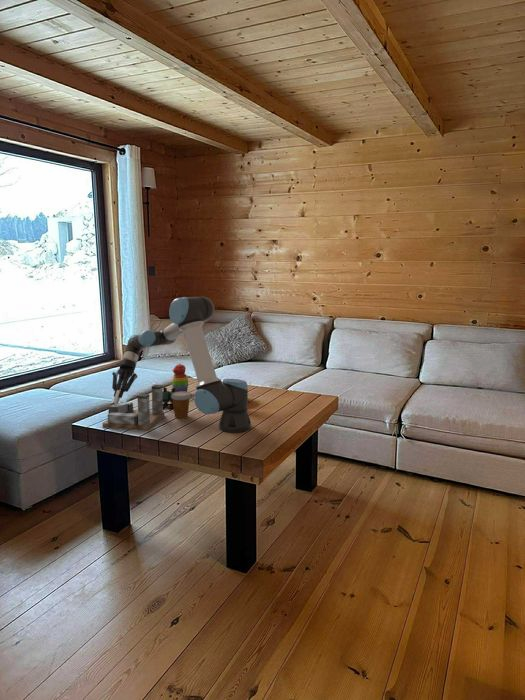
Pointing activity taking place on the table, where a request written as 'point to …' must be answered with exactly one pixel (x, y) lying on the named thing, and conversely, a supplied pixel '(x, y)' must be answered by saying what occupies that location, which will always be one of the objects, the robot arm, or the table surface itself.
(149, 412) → the grey block structure
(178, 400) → the disposable coffee cup
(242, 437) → the table surface
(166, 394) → the binoculars
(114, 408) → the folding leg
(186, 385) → the stacking bear
